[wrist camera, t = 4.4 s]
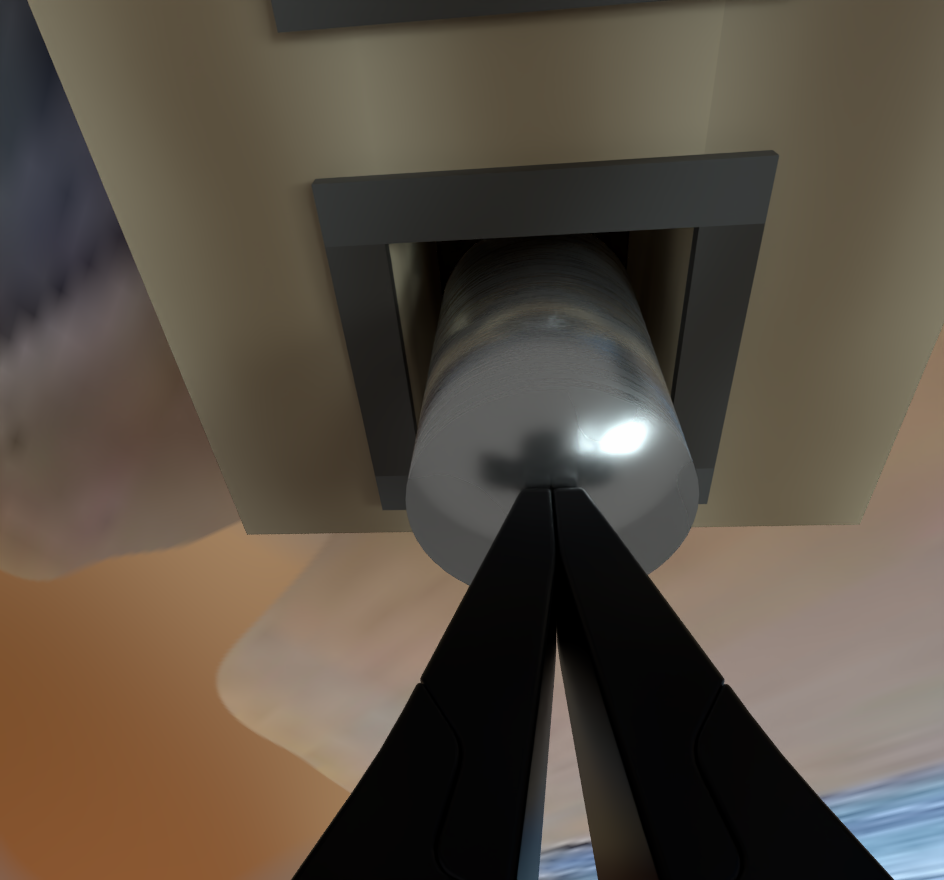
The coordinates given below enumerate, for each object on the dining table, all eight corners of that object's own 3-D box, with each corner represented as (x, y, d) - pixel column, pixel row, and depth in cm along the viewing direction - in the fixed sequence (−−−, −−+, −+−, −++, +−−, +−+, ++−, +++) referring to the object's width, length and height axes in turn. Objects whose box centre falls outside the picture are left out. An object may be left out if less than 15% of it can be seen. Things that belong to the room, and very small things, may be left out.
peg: (642, 215, 12) (722, 384, 8) (626, 392, 15) (679, 601, 10) (431, 226, 12) (384, 395, 8) (450, 398, 15) (423, 603, 10)
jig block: (1083, -858, 8) (2037, -2188, 3) (772, 377, 19) (865, 534, 14) (18, -666, 9) (-574, -1389, 4) (309, 394, 20) (242, 543, 15)
